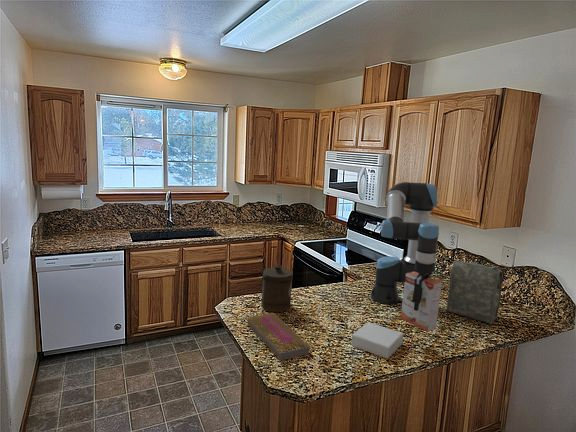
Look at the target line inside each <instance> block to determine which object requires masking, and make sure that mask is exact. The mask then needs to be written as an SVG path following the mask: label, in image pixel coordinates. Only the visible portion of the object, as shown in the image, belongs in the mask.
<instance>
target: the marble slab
mask: <svg viewBox="0 0 576 432" xmlns="http://www.w3.org/2000/svg"><path fill="white" fill-rule="evenodd" d="M403 339H404V333H403V332H400V331H397V330H394V329H390V328H388V327H385V326H381V325H378V324H375V323H373V322H367V323H365V324H364V325H363V326H362V327H360V328H359V329H357V330H356V331H355V332H354V333H353V334H352V335H351V345H350V346H352V347H354V348H357V349H361V350H363V351H366V352H368V353H370V354H371V353H372V354H373V355H377V356H380V357H382V358H384V359H389V358H390V357H392V355H393V354H394V353H395V352H396V351H397V350H398V349H399V347H401V345H403Z"/></svg>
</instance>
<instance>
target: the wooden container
mask: <svg viewBox="0 0 576 432" xmlns="http://www.w3.org/2000/svg"><path fill="white" fill-rule="evenodd" d="M292 279H293V271H291V270H290V269H287V268H284V267H282V265H281V264H275V265H274V267H268V268H265V269H264V270H263V273H262V286H261V287H262V289H261V308H262V309H264V310H266V311H267V312H271V313H273V312H275V313H280V312H281V313H282V312H285V311H288V310H289V309H290V308H291V304H292V283H293V282H292Z"/></svg>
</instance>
